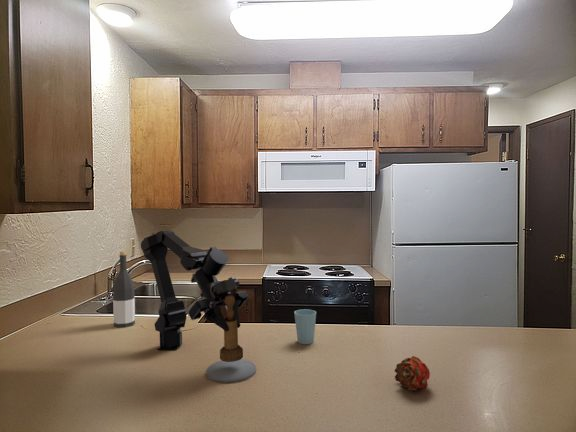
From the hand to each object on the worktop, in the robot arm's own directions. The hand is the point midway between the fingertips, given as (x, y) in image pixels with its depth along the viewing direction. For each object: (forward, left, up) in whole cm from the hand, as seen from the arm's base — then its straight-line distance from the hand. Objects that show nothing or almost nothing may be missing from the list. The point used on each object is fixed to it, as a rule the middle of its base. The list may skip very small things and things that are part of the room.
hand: (233, 328), depth 113 cm
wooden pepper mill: (-1, +1, -9) cm, 9 cm away
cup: (+20, +27, -13) cm, 36 cm away
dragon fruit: (+48, -7, -13) cm, 50 cm away
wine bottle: (-54, +46, -13) cm, 72 cm away
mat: (-1, +1, -13) cm, 13 cm away
